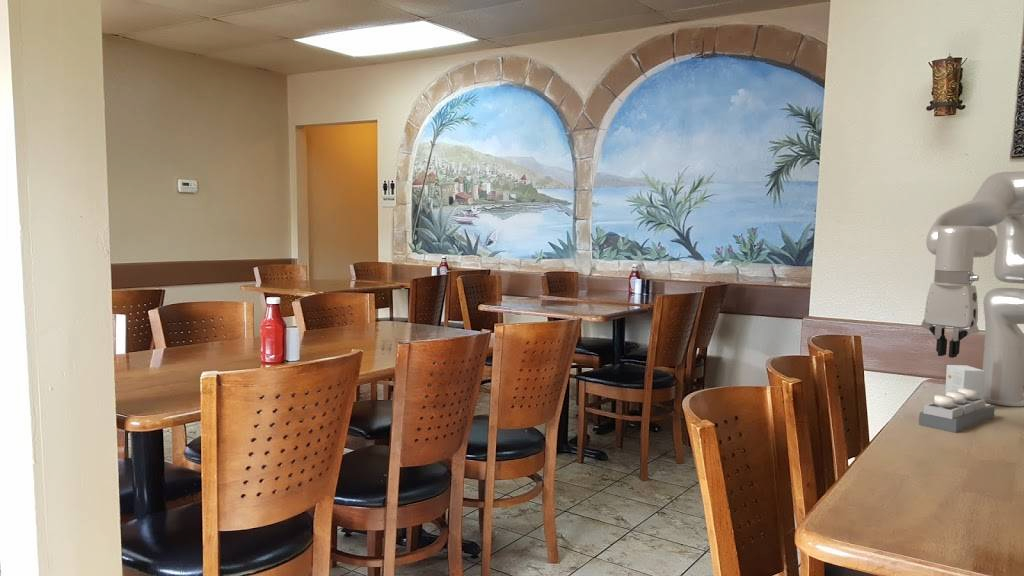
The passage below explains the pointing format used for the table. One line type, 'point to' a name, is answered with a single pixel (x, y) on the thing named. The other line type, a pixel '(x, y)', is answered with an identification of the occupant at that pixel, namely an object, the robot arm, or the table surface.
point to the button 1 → (943, 401)
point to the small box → (965, 379)
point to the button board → (956, 415)
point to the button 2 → (969, 393)
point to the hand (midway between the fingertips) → (947, 355)
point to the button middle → (957, 396)
